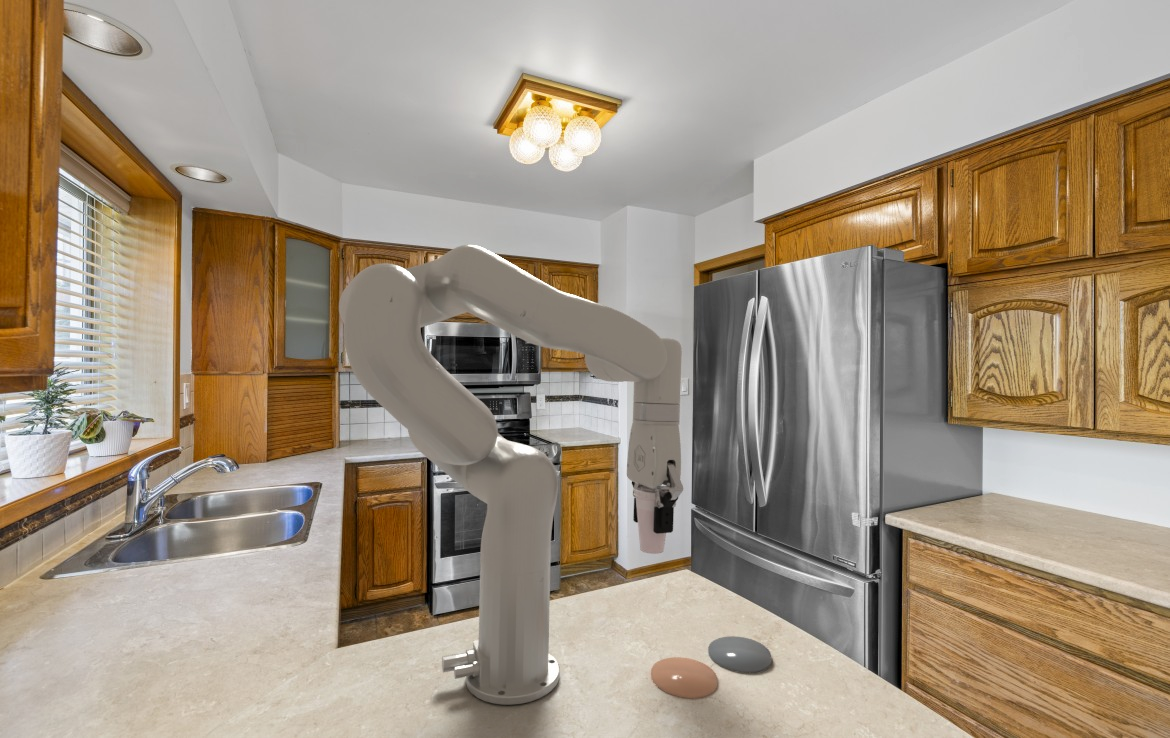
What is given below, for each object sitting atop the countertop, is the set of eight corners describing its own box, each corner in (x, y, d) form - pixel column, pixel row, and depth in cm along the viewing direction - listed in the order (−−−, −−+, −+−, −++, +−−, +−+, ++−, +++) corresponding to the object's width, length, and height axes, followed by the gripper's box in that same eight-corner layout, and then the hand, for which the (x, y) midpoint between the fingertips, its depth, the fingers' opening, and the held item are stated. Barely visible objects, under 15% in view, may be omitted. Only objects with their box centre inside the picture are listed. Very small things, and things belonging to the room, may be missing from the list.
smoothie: (671, 558, 80) (673, 465, 81) (629, 554, 81) (632, 463, 82) (672, 546, 86) (674, 461, 87) (634, 543, 87) (636, 459, 88)
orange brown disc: (672, 706, 66) (672, 700, 66) (639, 669, 74) (639, 664, 74) (731, 692, 69) (731, 686, 69) (693, 658, 78) (693, 652, 78)
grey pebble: (757, 682, 71) (757, 676, 71) (697, 660, 77) (697, 655, 77) (780, 653, 78) (780, 648, 78) (724, 635, 84) (723, 630, 84)
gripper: (612, 411, 91) (608, 515, 90) (663, 418, 75) (659, 544, 74) (650, 411, 94) (646, 512, 93) (707, 418, 78) (703, 540, 77)
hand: (652, 525), depth 84 cm, fingers closed on smoothie, 5 cm apart
